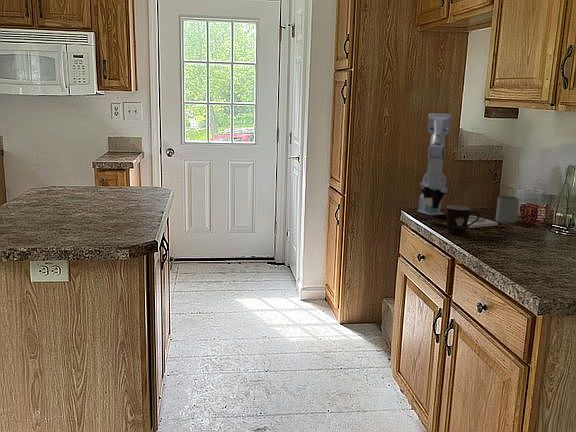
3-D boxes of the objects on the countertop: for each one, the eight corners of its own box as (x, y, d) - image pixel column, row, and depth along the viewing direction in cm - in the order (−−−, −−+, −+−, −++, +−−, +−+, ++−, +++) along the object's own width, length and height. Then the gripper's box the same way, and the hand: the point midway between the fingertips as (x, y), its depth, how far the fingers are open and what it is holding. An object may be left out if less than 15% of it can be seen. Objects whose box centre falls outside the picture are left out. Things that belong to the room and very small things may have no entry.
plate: (447, 220, 237) (447, 215, 237) (472, 218, 243) (473, 213, 243) (471, 227, 225) (471, 222, 224) (497, 225, 231) (497, 220, 230)
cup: (517, 223, 236) (520, 200, 234) (497, 222, 237) (499, 198, 235) (514, 219, 244) (516, 196, 242) (494, 218, 246) (496, 195, 244)
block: (424, 210, 233) (425, 197, 232) (432, 210, 235) (433, 197, 234) (430, 212, 230) (431, 199, 229) (438, 211, 232) (439, 198, 230)
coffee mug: (442, 234, 212) (444, 208, 210) (447, 229, 220) (449, 204, 218) (474, 238, 207) (476, 211, 205) (478, 233, 215) (480, 208, 213)
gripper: (415, 172, 234) (412, 204, 237) (438, 177, 221) (435, 211, 224) (429, 171, 237) (426, 203, 240) (452, 176, 224) (449, 210, 227)
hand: (431, 207), depth 232 cm, fingers closed on block, 4 cm apart
